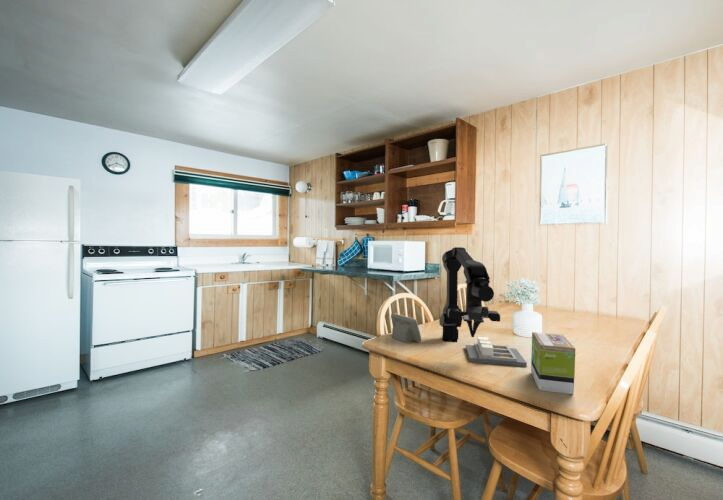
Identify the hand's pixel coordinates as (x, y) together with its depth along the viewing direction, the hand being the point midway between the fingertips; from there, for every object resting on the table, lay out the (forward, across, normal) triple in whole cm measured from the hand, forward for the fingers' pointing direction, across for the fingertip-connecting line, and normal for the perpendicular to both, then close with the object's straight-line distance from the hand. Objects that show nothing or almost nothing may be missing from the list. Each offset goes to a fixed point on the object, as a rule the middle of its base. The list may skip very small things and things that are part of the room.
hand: (472, 336), depth 134 cm
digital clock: (+9, -27, +20) cm, 35 cm away
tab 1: (+7, +6, +10) cm, 13 cm away
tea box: (+9, +23, -16) cm, 30 cm away
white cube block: (+7, +6, +5) cm, 10 cm away
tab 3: (+7, +6, 0) cm, 9 cm away
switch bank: (+9, +9, +5) cm, 13 cm away
